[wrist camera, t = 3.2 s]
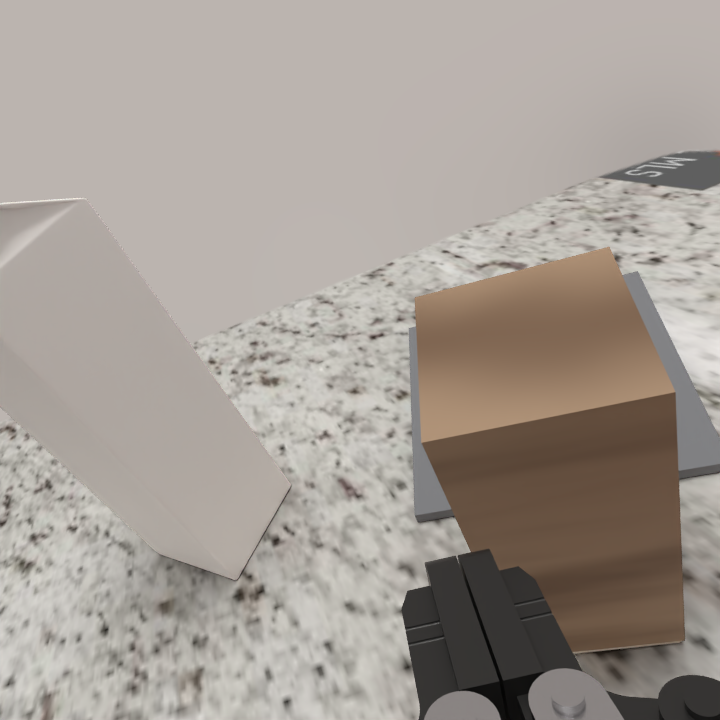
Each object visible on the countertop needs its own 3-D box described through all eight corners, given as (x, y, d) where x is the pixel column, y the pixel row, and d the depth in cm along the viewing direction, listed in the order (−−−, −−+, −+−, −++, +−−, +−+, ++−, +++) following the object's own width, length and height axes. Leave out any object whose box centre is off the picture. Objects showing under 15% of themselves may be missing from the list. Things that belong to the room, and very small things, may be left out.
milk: (238, 582, 32) (-119, 223, 18) (157, 554, 35) (-200, 231, 21) (294, 483, 36) (30, 116, 22) (215, 466, 39) (-59, 136, 25)
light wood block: (685, 644, 23) (675, 392, 14) (520, 661, 25) (421, 442, 16) (638, 506, 28) (609, 246, 19) (501, 527, 29) (414, 297, 20)
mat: (730, 470, 27) (731, 461, 27) (418, 521, 31) (414, 515, 31) (638, 279, 38) (637, 271, 37) (411, 335, 41) (408, 328, 41)
